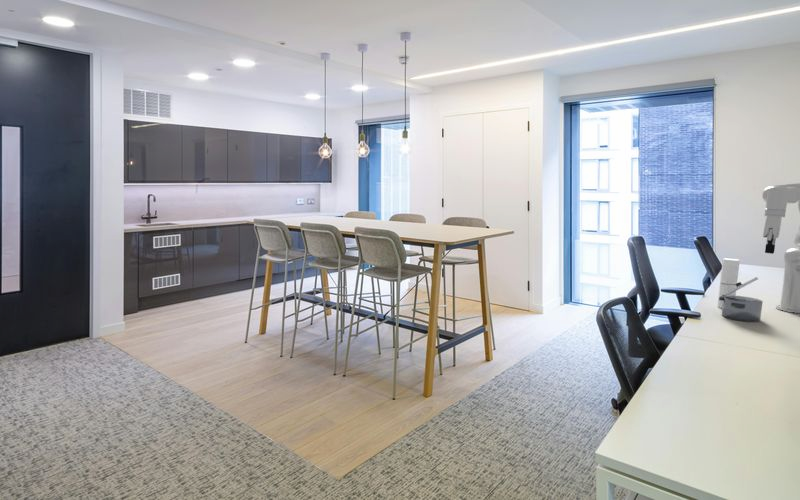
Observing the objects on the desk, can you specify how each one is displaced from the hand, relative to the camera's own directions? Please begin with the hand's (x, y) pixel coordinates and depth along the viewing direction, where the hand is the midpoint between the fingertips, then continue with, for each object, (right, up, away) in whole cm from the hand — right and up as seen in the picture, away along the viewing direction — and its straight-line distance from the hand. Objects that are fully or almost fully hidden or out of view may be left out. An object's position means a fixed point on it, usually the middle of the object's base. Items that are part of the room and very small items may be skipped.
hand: (769, 253), depth 228 cm
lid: (-11, -16, +3) cm, 20 cm away
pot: (-10, -31, +4) cm, 33 cm away
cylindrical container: (-4, -28, +24) cm, 37 cm away
